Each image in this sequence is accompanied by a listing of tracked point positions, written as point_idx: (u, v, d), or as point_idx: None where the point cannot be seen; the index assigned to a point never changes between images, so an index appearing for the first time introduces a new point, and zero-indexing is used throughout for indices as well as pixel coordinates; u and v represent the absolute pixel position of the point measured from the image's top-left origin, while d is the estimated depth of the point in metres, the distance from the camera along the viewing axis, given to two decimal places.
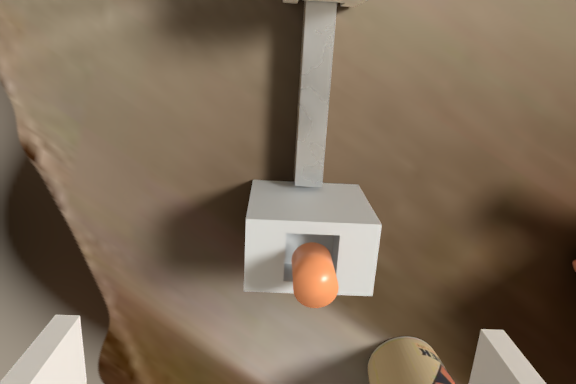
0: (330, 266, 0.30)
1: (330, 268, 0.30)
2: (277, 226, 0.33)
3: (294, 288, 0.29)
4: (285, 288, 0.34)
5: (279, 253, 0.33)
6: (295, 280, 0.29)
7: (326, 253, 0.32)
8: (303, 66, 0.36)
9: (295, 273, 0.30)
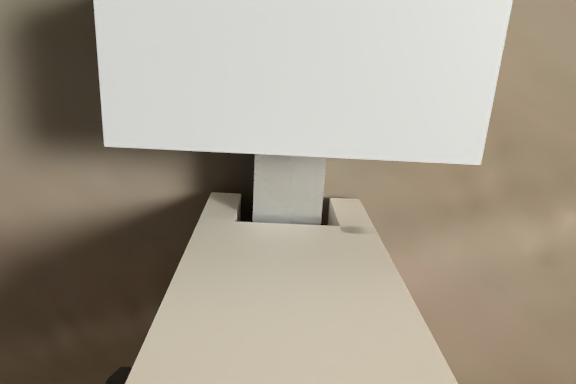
0: None
1: None
2: None
3: None
4: None
5: None
6: None
7: None
8: None
9: None
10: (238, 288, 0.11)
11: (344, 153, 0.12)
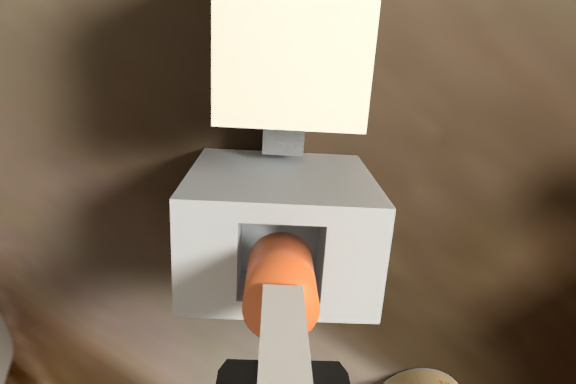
0: (307, 272, 0.18)
1: (306, 275, 0.17)
2: (223, 211, 0.20)
3: (244, 310, 0.17)
4: (240, 312, 0.21)
5: (228, 256, 0.20)
6: (245, 296, 0.17)
7: (302, 250, 0.19)
8: None
9: (247, 283, 0.18)
10: None
11: None
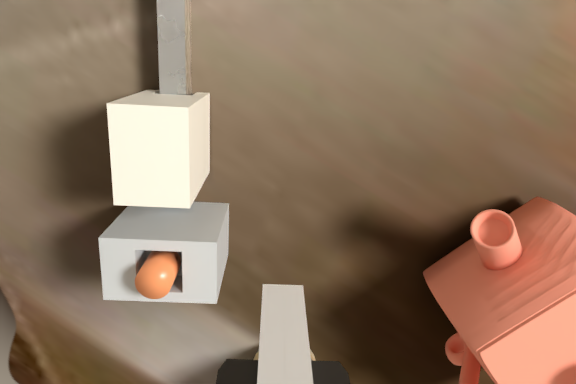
0: (167, 265, 0.38)
1: (165, 267, 0.37)
2: (126, 244, 0.38)
3: (135, 283, 0.37)
4: (139, 297, 0.40)
5: (131, 267, 0.39)
6: (136, 277, 0.37)
7: (171, 255, 0.39)
8: None
9: None
10: (143, 98, 0.36)
11: None
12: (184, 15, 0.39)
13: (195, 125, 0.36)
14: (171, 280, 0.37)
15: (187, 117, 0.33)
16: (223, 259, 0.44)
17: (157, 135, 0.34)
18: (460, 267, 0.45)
